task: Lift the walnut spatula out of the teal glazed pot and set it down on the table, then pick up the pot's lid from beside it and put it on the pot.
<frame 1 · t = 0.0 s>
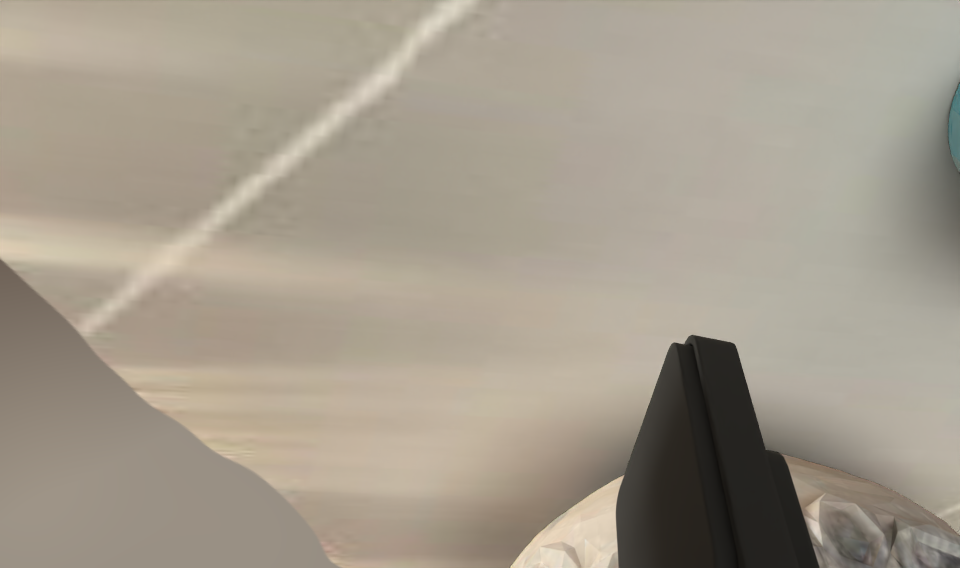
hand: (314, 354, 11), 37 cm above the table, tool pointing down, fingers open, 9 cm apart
clay pot: (711, 512, 62), on the table
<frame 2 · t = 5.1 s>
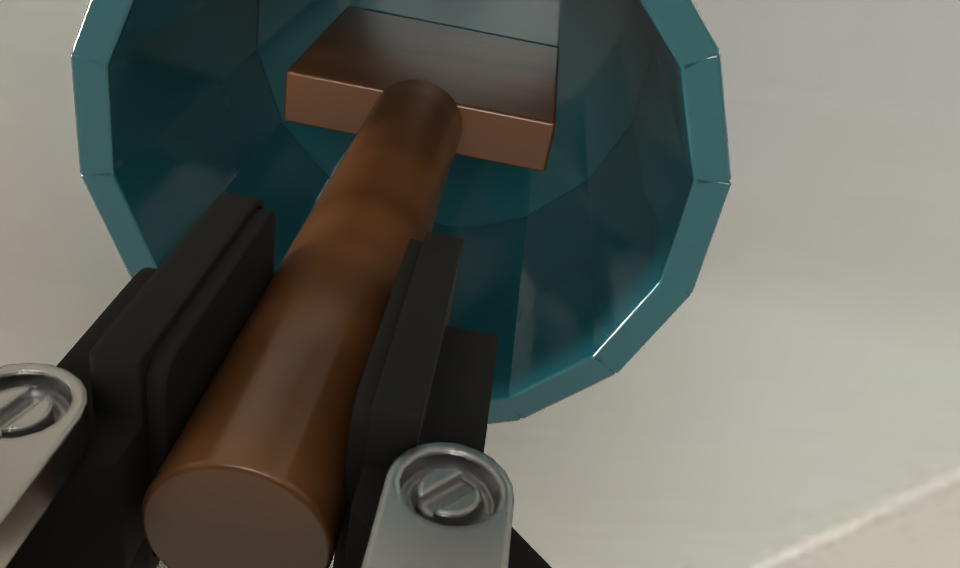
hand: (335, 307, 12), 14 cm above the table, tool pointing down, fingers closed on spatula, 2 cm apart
pot: (453, 43, 25), on the table
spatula: (450, 47, 24), point 1 cm above the table, touching gripper
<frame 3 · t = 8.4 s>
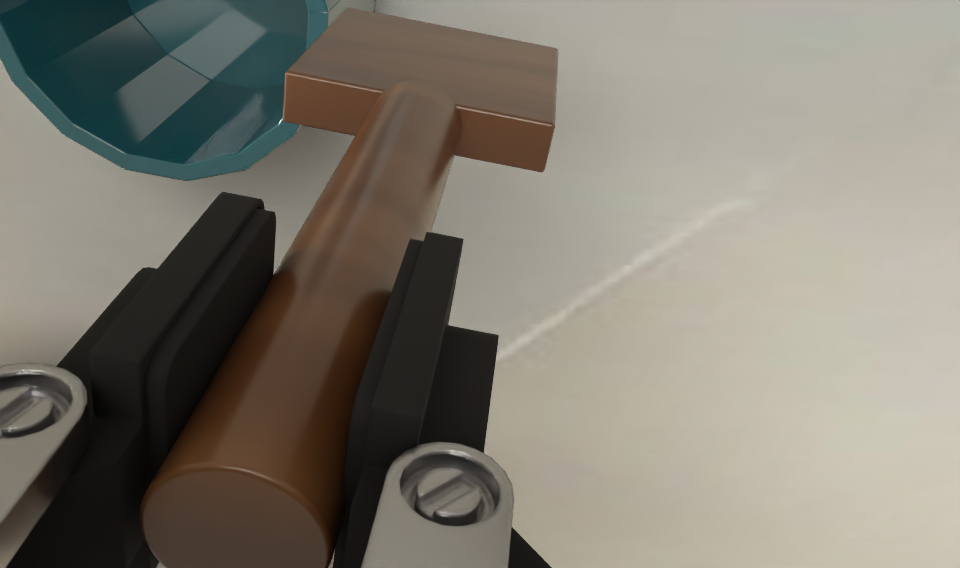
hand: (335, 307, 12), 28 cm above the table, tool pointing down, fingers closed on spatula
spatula: (449, 48, 24), point 15 cm above the table, touching gripper
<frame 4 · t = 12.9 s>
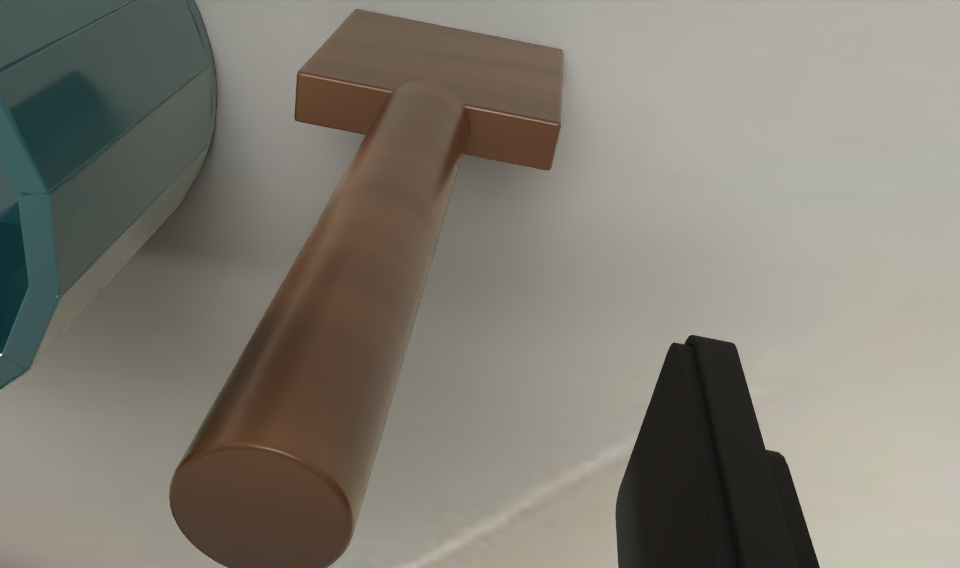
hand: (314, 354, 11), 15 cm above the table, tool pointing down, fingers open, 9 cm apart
pot: (15, 59, 26), on the table
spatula: (456, 49, 25), on the table
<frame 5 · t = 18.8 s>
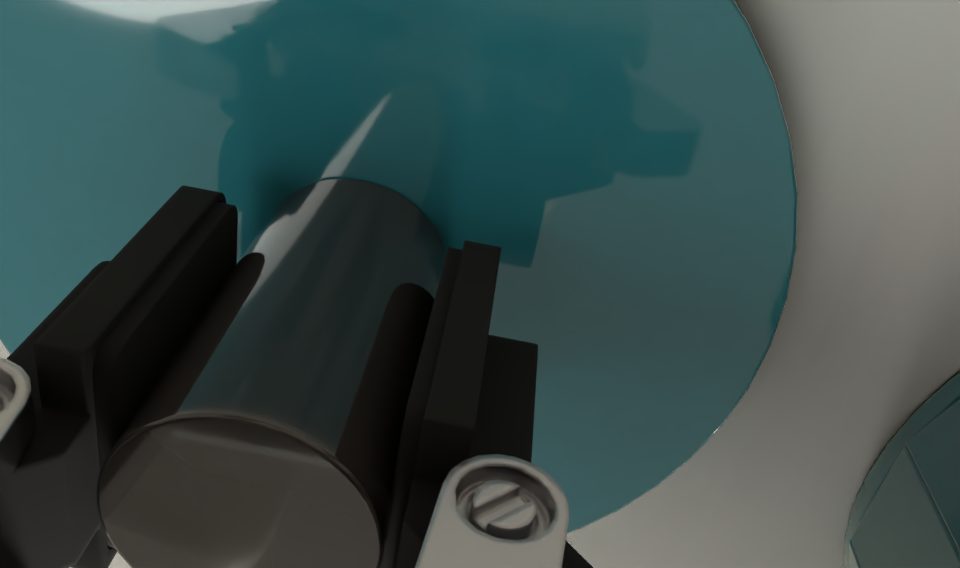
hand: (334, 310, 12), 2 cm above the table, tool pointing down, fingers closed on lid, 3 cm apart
lid: (361, 250, 14), point 1 cm above the table, touching gripper
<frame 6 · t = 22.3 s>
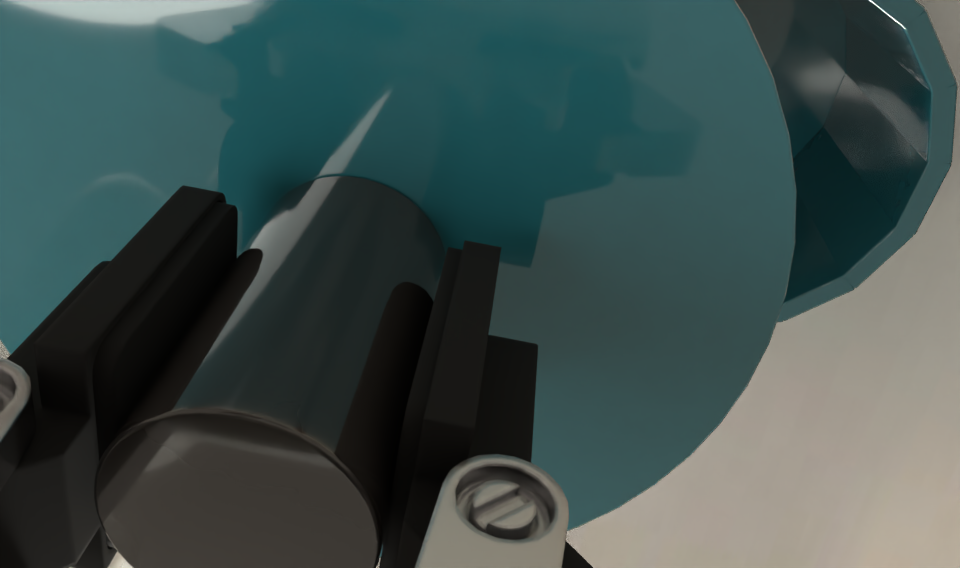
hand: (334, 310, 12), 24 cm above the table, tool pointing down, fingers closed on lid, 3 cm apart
pot: (696, 66, 34), on the table
lid: (359, 247, 14), point 22 cm above the table, touching gripper
when the fingers open (11 cm above the table, at t = 26.3 s): lid stays where it is, resting on pot.
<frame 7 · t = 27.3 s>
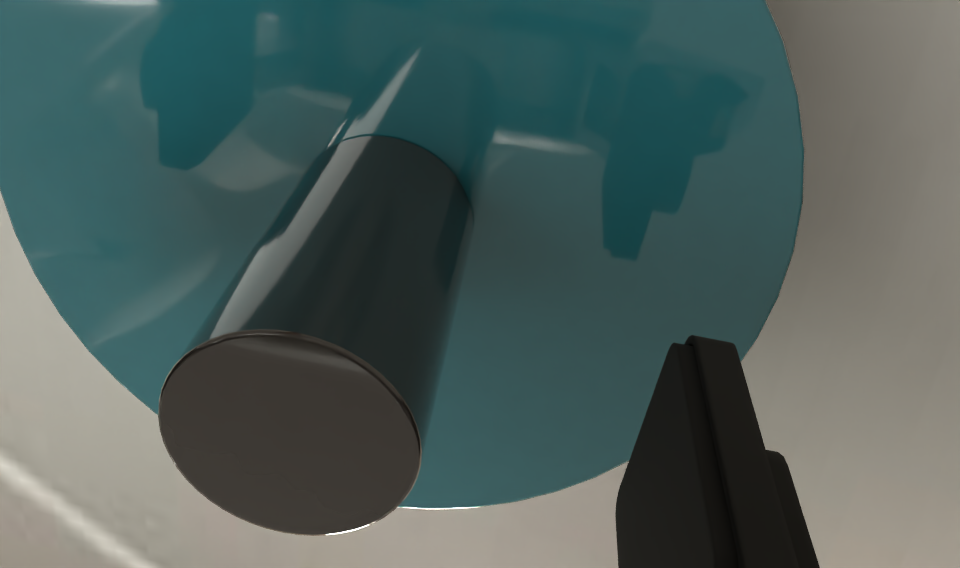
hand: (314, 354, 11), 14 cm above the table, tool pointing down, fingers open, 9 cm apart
lid: (389, 206, 15), point 9 cm above the table, touching pot
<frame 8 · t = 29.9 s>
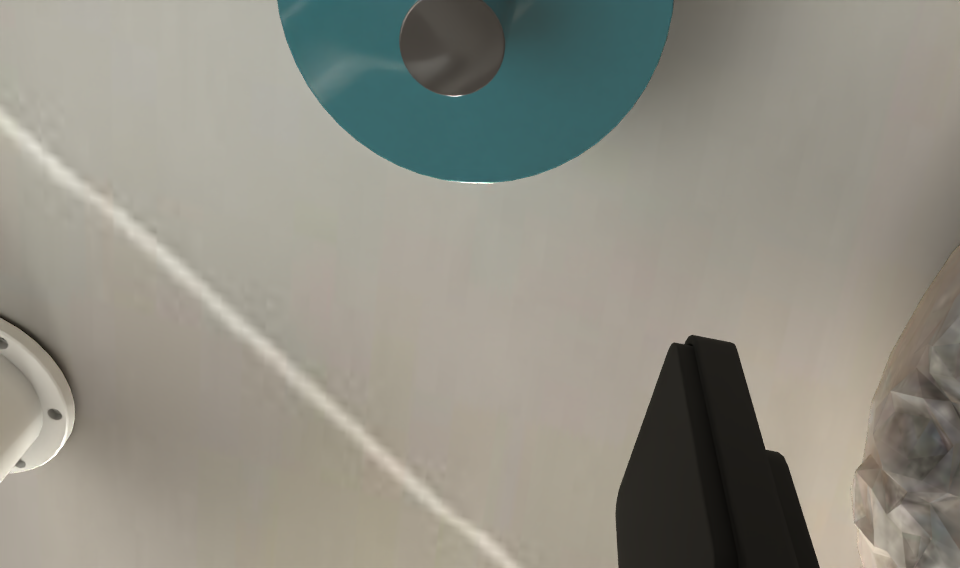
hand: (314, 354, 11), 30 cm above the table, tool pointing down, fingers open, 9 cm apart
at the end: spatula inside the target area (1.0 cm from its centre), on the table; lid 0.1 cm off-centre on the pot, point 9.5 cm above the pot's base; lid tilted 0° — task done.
